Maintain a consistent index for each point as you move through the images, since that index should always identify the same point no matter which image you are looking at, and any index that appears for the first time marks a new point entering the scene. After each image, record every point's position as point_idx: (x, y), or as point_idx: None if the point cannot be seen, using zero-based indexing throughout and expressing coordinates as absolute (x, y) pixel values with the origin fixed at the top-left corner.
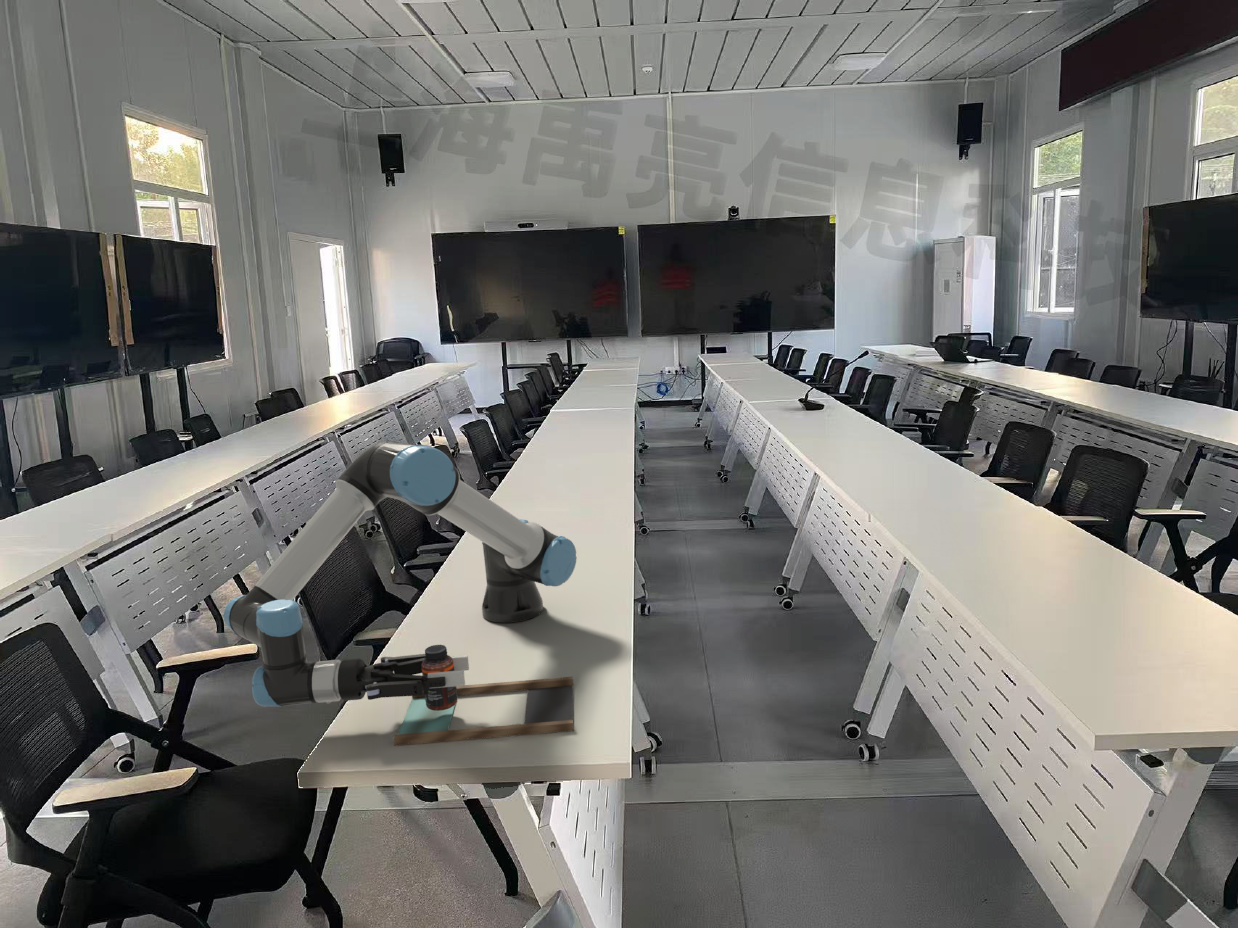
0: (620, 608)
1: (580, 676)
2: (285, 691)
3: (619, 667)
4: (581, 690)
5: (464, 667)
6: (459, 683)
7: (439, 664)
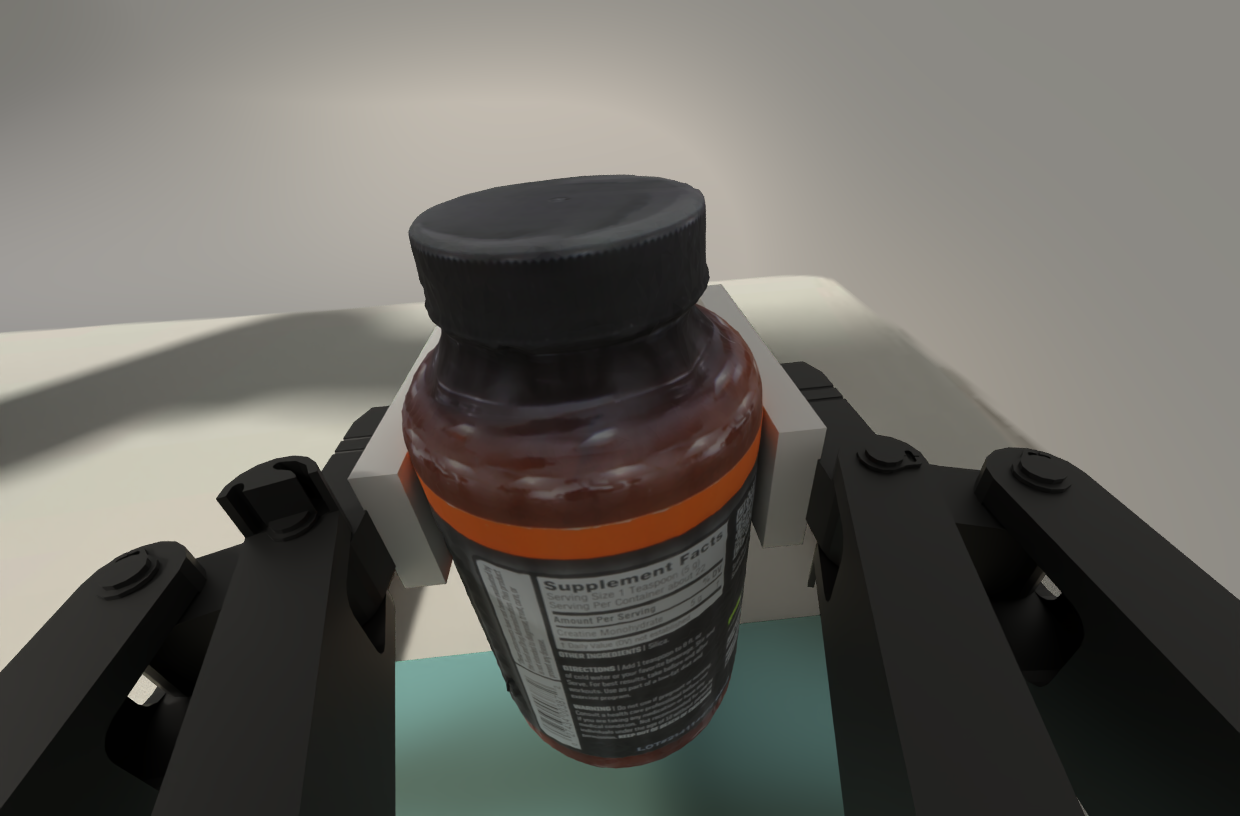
0: (48, 333)
1: None
2: None
3: (418, 306)
4: None
5: None
6: None
7: (709, 311)
